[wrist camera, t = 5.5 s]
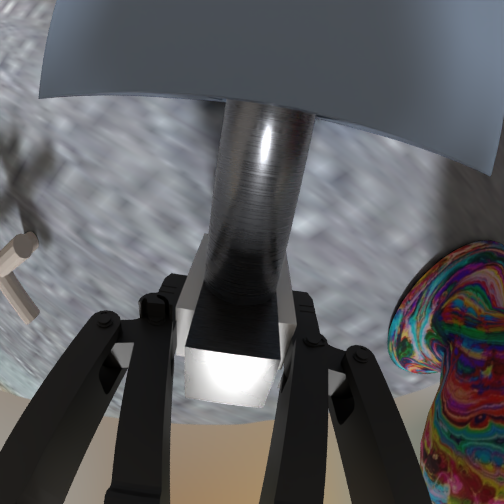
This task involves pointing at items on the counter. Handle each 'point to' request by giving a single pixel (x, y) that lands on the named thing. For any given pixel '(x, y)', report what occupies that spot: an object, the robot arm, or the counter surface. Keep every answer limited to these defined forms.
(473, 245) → the vase
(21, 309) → the pipe connector
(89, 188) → the counter surface
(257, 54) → the pillow block
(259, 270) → the shaft
